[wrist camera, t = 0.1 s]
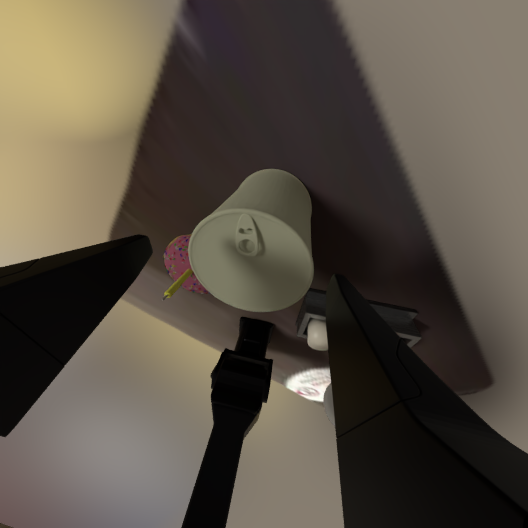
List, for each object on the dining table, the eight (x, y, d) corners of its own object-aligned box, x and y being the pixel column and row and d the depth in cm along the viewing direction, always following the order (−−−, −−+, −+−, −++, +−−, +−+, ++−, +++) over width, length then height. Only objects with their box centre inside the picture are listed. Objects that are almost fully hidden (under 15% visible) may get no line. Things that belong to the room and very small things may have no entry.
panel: (384, 341, 33) (392, 363, 30) (295, 322, 34) (294, 340, 31) (415, 309, 27) (428, 332, 24) (308, 287, 29) (308, 306, 26)
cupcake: (186, 210, 24) (110, 265, 15) (246, 233, 25) (210, 301, 16) (183, 258, 30) (125, 321, 20) (233, 277, 30) (200, 347, 21)
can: (318, 170, 19) (329, 218, 10) (305, 247, 25) (304, 325, 15) (231, 166, 20) (165, 205, 11) (237, 240, 26) (198, 308, 16)
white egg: (327, 331, 30) (329, 352, 27) (305, 326, 30) (305, 347, 28) (335, 318, 28) (338, 339, 25) (311, 313, 28) (311, 333, 25)
